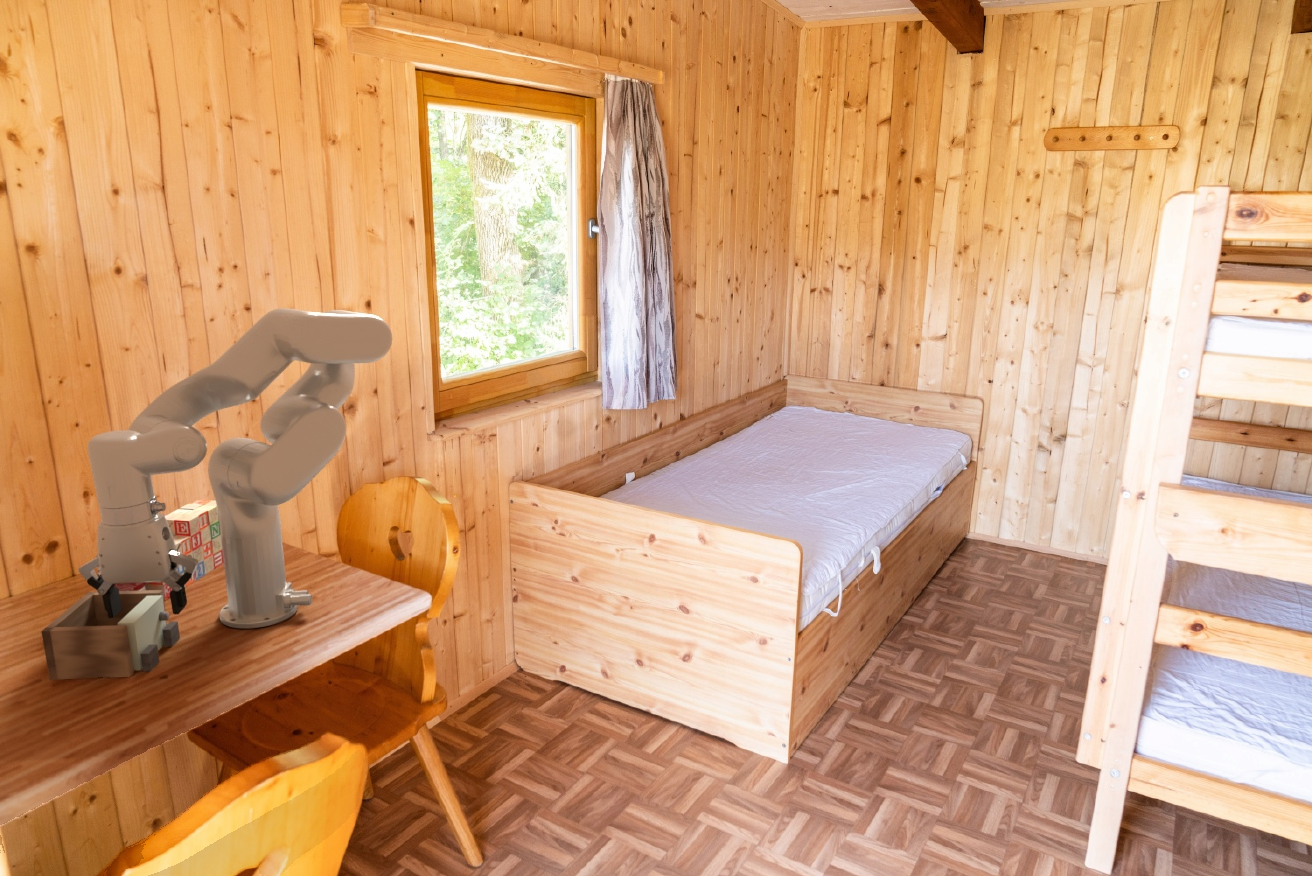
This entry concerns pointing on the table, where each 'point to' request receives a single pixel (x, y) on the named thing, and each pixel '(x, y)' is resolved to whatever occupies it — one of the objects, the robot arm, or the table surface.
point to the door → (145, 626)
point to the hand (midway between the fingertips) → (147, 612)
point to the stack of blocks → (194, 540)
